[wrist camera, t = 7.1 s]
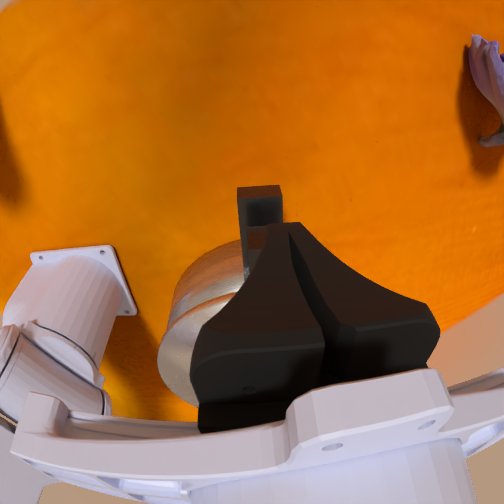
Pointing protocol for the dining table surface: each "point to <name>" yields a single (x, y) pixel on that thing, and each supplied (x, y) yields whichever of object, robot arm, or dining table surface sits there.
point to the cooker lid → (196, 331)
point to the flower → (489, 80)
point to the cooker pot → (227, 253)
